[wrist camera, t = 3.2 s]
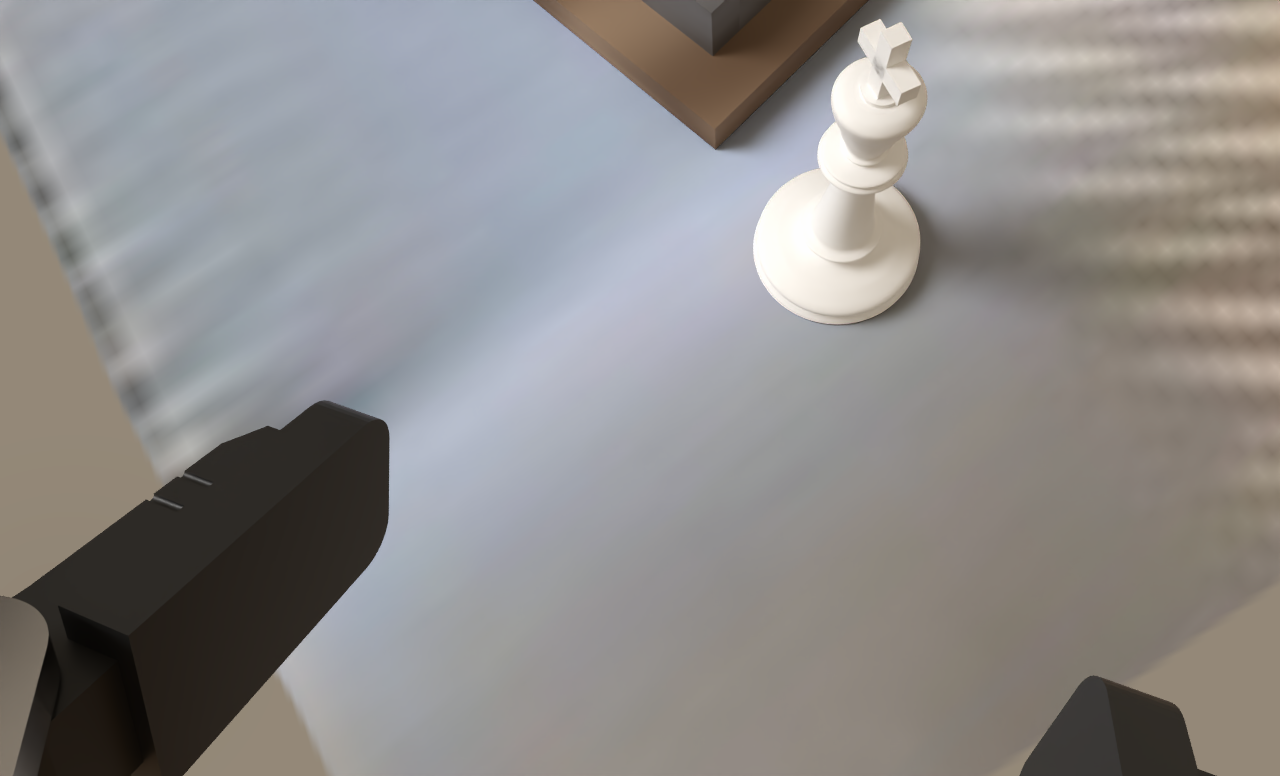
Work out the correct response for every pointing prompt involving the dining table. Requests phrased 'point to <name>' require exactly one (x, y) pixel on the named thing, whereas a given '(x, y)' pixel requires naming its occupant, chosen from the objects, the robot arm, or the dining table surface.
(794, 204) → the chess piece
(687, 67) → the walnut stand
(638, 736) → the dining table surface
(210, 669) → the robot arm
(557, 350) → the dining table surface
